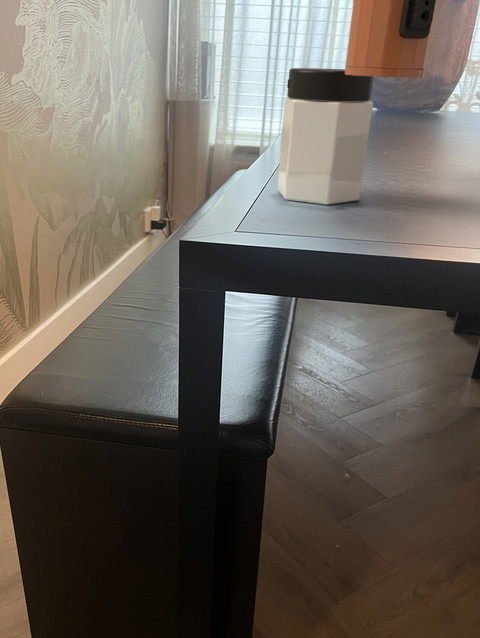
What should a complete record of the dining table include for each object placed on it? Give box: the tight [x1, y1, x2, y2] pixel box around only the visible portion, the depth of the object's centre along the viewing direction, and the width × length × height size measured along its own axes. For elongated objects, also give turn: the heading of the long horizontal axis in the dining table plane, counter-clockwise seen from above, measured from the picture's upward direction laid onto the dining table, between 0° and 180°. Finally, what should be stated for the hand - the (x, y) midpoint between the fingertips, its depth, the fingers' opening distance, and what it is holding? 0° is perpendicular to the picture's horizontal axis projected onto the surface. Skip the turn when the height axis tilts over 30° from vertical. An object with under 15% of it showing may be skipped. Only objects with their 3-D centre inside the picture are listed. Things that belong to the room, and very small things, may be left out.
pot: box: [344, 0, 439, 79], centre depth 49 cm, size 6×6×7 cm
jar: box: [277, 67, 374, 206], centre depth 61 cm, size 9×8×12 cm
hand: (389, 38), depth 49 cm, fingers closed on pot, 6 cm apart
